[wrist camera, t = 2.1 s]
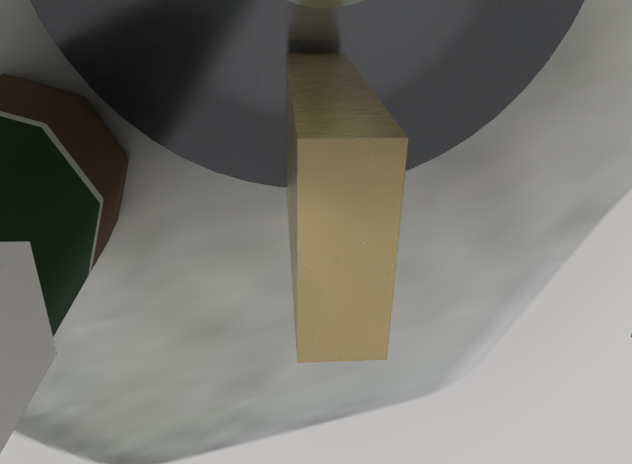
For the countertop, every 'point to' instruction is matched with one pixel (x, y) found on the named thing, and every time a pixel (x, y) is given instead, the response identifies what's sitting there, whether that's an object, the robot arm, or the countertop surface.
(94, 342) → the countertop surface
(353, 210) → the tan rectangular block
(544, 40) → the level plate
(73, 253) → the beer bottle
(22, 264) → the robot arm
